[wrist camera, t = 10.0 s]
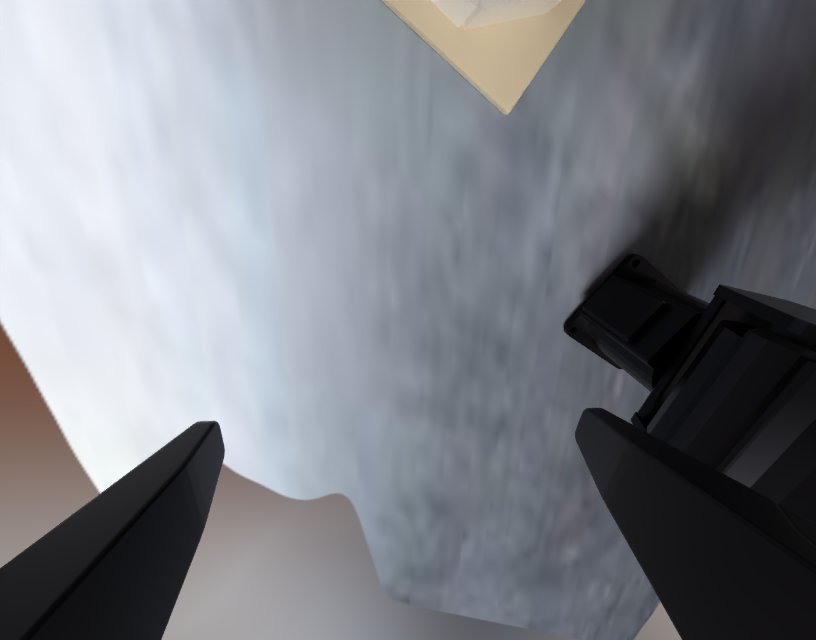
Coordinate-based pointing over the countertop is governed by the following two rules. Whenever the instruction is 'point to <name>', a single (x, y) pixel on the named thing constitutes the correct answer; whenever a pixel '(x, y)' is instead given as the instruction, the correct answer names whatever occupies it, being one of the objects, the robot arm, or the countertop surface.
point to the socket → (491, 38)
